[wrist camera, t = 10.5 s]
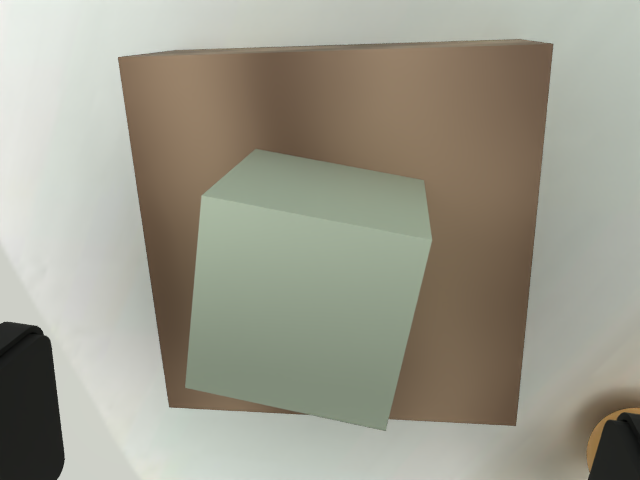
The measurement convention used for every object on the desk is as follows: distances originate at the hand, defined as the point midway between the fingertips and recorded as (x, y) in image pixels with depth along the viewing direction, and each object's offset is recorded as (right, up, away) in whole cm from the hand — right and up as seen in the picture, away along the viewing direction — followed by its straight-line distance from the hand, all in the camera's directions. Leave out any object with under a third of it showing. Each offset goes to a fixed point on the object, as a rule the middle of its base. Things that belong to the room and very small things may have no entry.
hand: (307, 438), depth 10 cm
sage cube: (0, +3, +8) cm, 9 cm away
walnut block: (+1, +5, +13) cm, 14 cm away
